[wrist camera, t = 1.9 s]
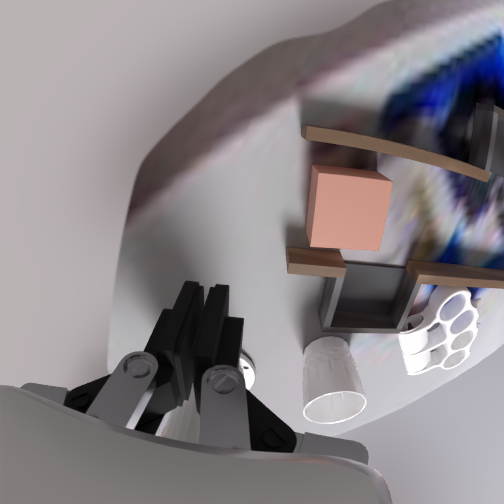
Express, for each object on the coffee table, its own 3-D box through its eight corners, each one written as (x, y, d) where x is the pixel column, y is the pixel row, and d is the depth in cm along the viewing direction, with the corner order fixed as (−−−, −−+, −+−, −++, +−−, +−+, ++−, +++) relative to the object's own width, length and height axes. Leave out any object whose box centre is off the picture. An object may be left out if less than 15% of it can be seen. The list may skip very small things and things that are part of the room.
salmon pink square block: (366, 232, 30) (379, 250, 26) (305, 228, 31) (310, 246, 27) (376, 171, 27) (392, 181, 23) (311, 163, 28) (318, 172, 24)
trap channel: (505, 314, 35) (521, 336, 30) (277, 310, 36) (278, 344, 30) (559, 155, 21) (584, 166, 16) (309, 51, 22) (318, 37, 17)
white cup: (303, 331, 37) (309, 392, 28) (358, 332, 37) (375, 389, 28) (295, 368, 41) (298, 424, 32) (345, 368, 41) (355, 422, 32)
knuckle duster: (388, 306, 35) (474, 261, 31) (406, 374, 42) (475, 338, 38) (395, 323, 32) (486, 273, 28) (411, 388, 39) (482, 351, 35)
